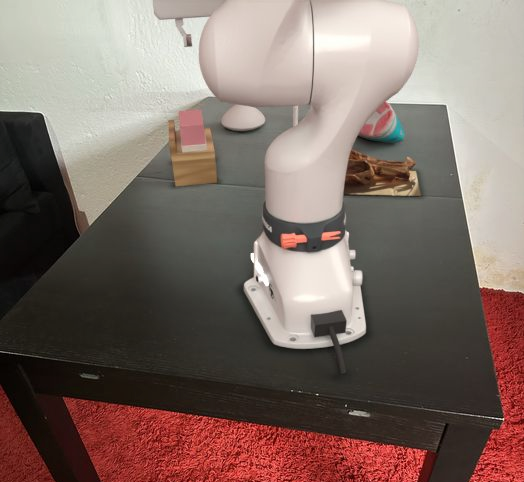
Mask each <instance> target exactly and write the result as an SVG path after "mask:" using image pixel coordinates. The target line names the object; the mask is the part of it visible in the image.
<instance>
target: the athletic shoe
mask: <svg viewBox="0 0 524 482" xmlns="http://www.w3.org/2000/svg"><path fill="white" fill-rule="evenodd" d="M405 134H406V133H405V130H404V128H403V126H402V123H401V121H400V119H399V118H398V116H397V114H396V112H395V110H394V108H392V105H391V104H390V103H389V102H387V101H386V102H385V103H384V104H382V105H381V106H380V107H379V108H378V109H377V110H376V111H375V112H374V113H373V114H372V116H371V117H370V118H369V119H368V121H367V122H366V123H365V125H364V126H363V128H362V129H361V131H360V132H359V134H358V136H357V137H360V138H364V139H366V140H368V141H369V140H370V141H374V142H381V143H391V144H393V143H394V144H396V143H400V142H402V141H403V140H404V139H405V136H406V135H405Z"/></svg>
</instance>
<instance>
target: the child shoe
mask: <svg viewBox="0 0 524 482" xmlns="http://www.w3.org/2000/svg"><path fill="white" fill-rule="evenodd" d="M202 112H203V111H202V109H201V108H200V109H199V108H198V109H188V110H178V121H179V131H180V135H181V147H182V152H193V151H205V150H207V143H206V137H205V132H204V129H205V125H204V123H205V122H204V119H203V118H204V117H203V113H202Z"/></svg>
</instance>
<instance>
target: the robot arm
mask: <svg viewBox="0 0 524 482" xmlns="http://www.w3.org/2000/svg"><path fill="white" fill-rule="evenodd" d="M152 6H153V8H152V10H153V15H154V16H155V18H157V19H158V20H159V21H162V20H164V21H165V20H174V21H175V27H176V28H177V30H178V32H179V34H180V35H181V37H182V39H183V46H184V48H192V47H193V43H192V34H191V33H187V32H186V31H185V29H184V28H183V26H184V19H195V18H208V19H207V20H206V22H205V23H204V26H203V28H202V31H201V33H200V38H199V41H198V42H199V43H198V64H199V68H200V72H201V75H202V78H203V80H204V82H205V85H206V86H207V88H208V89H209V91H210V92H211V94H213V96H214V97H215V98H216V99H217V100H218V101H219V102H223V103H228V104H232V105H234V104H237V105H244V106H250V107H255V108H275V107H293V106H298V107H299V106H307V107H309V106H310V107H309V109H308V112H307V114H306V115H305V116H304V117H303V119H302V120H300V121H299V122H298V124H297V125H295V126H294V127H293V126H292V127H290V128H289V129H287V130H285V131H283V132H281V133H280V134H278V136H277V137H275V138H274V139H273V141H272V142H271V143H270V144H269V146H268V147H267V150H266V152H265V155H264V160H263V162H264V164H263V166H264V196H265V197H264V199H265V200H264V201H263V203H262V212H261V220H262V229H263V230H262V233H260V234H259V236H258V237H257V238H256V239H255V241H254V242H253V252H252V253H250V259H251V261H252V263H253V277H251V278H250V279H247V280H246V281H245V282H244V283H243V292H244V294H245V296H246V298H247V299H248V302H249V303H250V305H251V307H252V309H253V311H254V313H255V314H256V316H257V318H258V319H259V322H260V323H261V325H262V327H263V329H264V330H265V333H266V335H267V336H268V338H269V340H270V342H271V343H272V344H273V345H275V346H278V347H282V348H287V349H294V350H295V349H296V350H298V349H299V350H307V349H309V350H310V349H320V348H328V347H333V349H334V352H335V356H336V359H337V364H338V368H339V374H341V375H342V374H346V373H347V369H346V363H345V358H344V357H345V356H344V354H343V350H342V347H341V345H344V344H348V343H350V342H354V341H356V340H358V339H360V338H361V337H363V336H364V335H365V334H366V333H367V322H366V317H365V310H364V309H365V308H364V302H363V295H362V289H361V286H362V285H363V271H362V269H355V268H354V266H352V265H351V260H355V259H356V250H355V249H350V246H349V238H350V232H349V231H348V230H346V223H347V215H346V214H347V213H346V206H345V205H346V204H345V202H344V194H343V192H344V183H345V176H346V170H347V165H348V160H349V155H350V152H351V149H352V150H353V146H354V144H355V142H356V140H357V138H358V137H359V136H358V134H359V132H360V131H361V129H362V128H363V126H364V125H365V123H366V122H367V121H368V119H369V118H370V117H371V116H372V114H373V113H374V112H375V111H376V110H377V109H378V108H379V107H380V106H381V105H382V104H384V103H385V102H387V101H389V100H390V99H391V98H393V97H394V96H395V95H397V94H398V93H400V91H401V90H402V89H403V88H404V86H405V85H406V84H407V83H408V82H409V80H410V78H411V76H412V74H413V72H414V69H415V67H416V64H417V60H418V55H419V46H420V45H419V44H420V42H419V33H418V28H417V24H416V22H415V19H414V17H413V15H412V14H411V12H410V10H409V9H408V8H407V7H406V6H405V4H403V3H399V2H394V1H390V0H152Z"/></svg>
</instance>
